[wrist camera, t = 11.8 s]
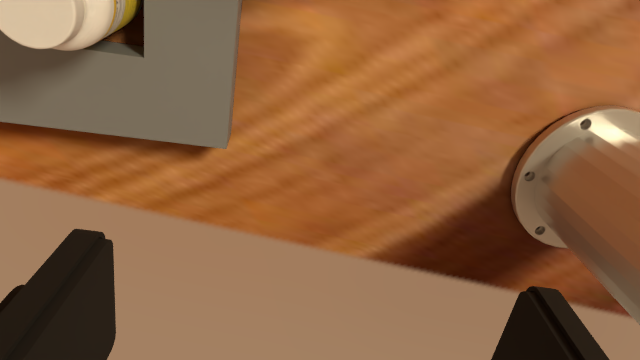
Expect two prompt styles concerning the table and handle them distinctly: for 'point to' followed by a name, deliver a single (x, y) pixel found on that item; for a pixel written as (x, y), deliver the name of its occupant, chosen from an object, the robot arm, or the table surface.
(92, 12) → the supplement bottle
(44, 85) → the socket board
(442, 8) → the table surface
